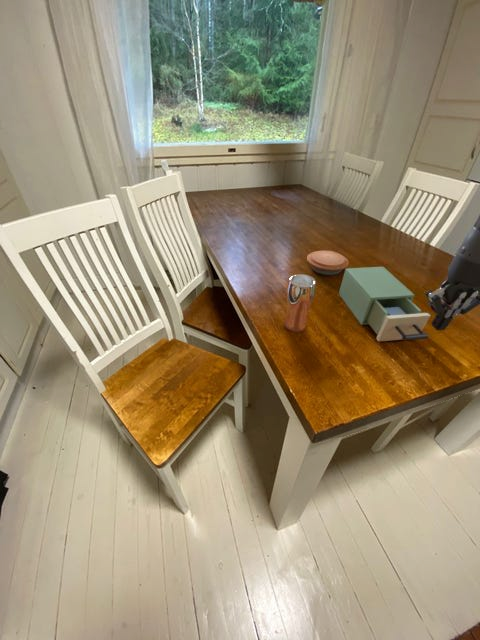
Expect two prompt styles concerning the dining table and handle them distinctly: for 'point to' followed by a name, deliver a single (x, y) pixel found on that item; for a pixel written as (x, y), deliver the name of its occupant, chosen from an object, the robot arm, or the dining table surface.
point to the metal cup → (299, 301)
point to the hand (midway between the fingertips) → (437, 327)
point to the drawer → (397, 320)
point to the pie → (327, 262)
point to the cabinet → (369, 289)
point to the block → (394, 311)
